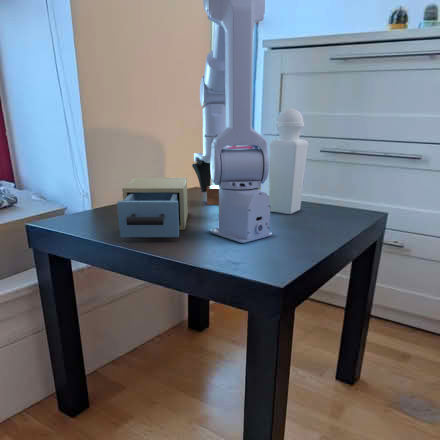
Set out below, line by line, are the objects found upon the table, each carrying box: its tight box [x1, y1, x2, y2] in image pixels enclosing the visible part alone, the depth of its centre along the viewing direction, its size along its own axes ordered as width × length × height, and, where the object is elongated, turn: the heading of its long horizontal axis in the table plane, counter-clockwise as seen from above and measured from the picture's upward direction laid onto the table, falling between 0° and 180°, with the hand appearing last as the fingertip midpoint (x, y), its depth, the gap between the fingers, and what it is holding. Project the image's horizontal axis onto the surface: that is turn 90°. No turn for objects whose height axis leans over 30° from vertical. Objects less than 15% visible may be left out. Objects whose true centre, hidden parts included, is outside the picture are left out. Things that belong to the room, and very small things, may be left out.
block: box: [206, 185, 219, 206], centre depth 105 cm, size 4×4×4 cm
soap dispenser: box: [268, 108, 309, 215], centre depth 94 cm, size 6×6×22 cm
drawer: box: [116, 193, 180, 238], centre depth 77 cm, size 17×10×6 cm, turn 2°
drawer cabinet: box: [121, 176, 189, 231], centre depth 87 cm, size 14×12×8 cm
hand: (214, 193), depth 105 cm, fingers open, 7 cm apart
